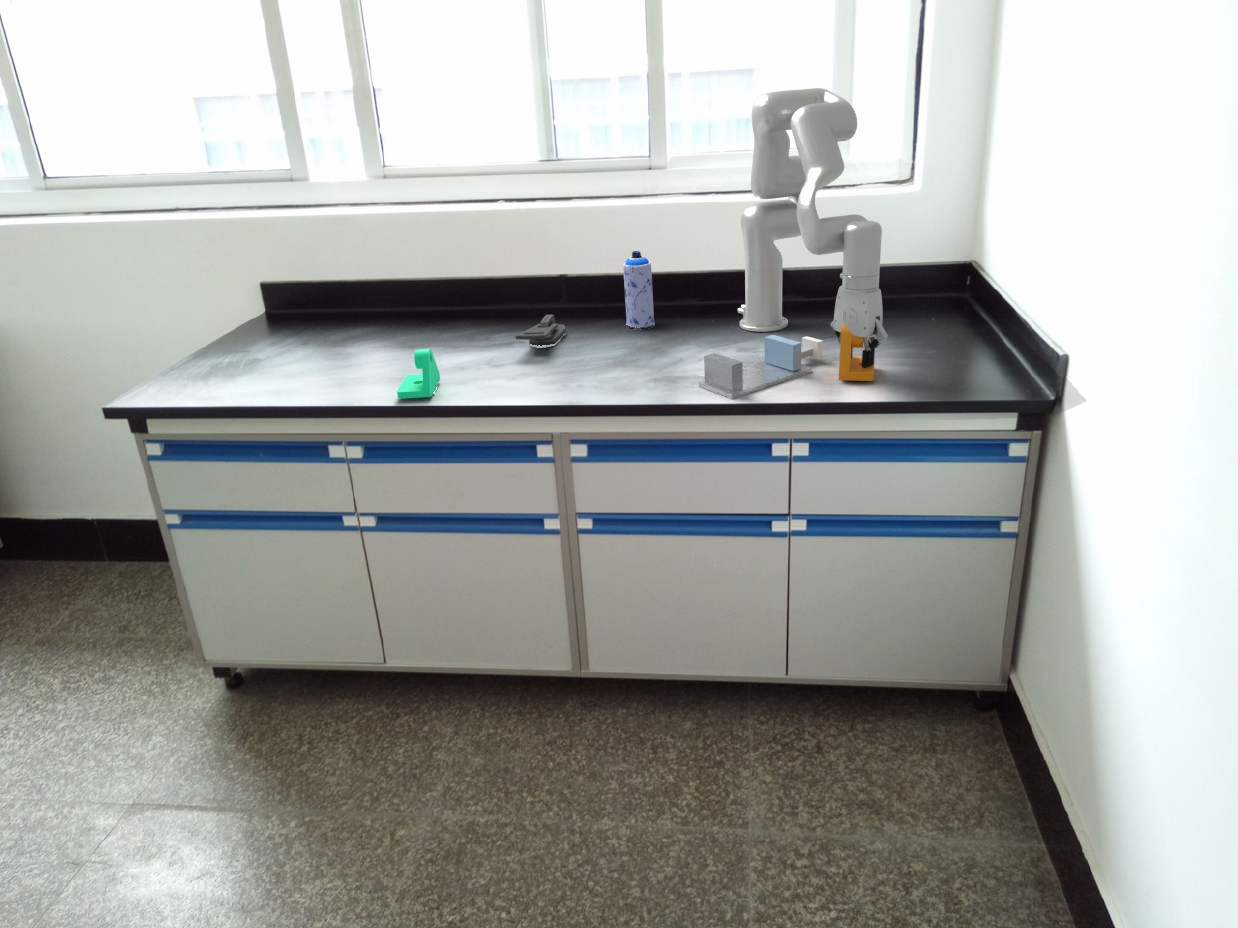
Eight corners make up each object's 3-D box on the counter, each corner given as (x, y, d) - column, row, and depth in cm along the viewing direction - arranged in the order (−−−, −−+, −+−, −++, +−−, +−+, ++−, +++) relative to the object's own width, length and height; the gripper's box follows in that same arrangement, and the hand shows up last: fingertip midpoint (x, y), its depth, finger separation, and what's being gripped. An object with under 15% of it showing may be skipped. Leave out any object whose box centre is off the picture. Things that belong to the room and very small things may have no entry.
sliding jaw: (764, 362, 209) (764, 337, 206) (800, 350, 215) (800, 326, 212) (792, 371, 202) (793, 345, 200) (828, 359, 208) (829, 333, 205)
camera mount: (408, 385, 215) (401, 343, 211) (440, 383, 215) (434, 341, 210) (397, 403, 204) (390, 359, 200) (431, 401, 204) (424, 357, 200)
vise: (698, 386, 201) (697, 356, 198) (777, 361, 213) (777, 332, 210) (731, 399, 192) (731, 367, 189) (811, 372, 204) (812, 342, 201)
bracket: (873, 384, 195) (876, 330, 190) (838, 383, 197) (840, 330, 192) (874, 368, 204) (877, 316, 199) (841, 367, 206) (843, 316, 201)
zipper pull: (512, 336, 223) (534, 308, 245) (515, 361, 226) (536, 332, 248) (547, 335, 222) (566, 307, 244) (550, 361, 224) (568, 331, 247)
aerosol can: (628, 321, 251) (623, 249, 243) (656, 321, 250) (652, 248, 242) (624, 329, 244) (619, 255, 236) (653, 329, 243) (649, 254, 235)
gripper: (818, 278, 196) (815, 358, 204) (881, 291, 183) (876, 376, 191) (841, 272, 200) (838, 351, 208) (905, 284, 187) (899, 368, 195)
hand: (856, 362), depth 199 cm, fingers closed on bracket, 5 cm apart
